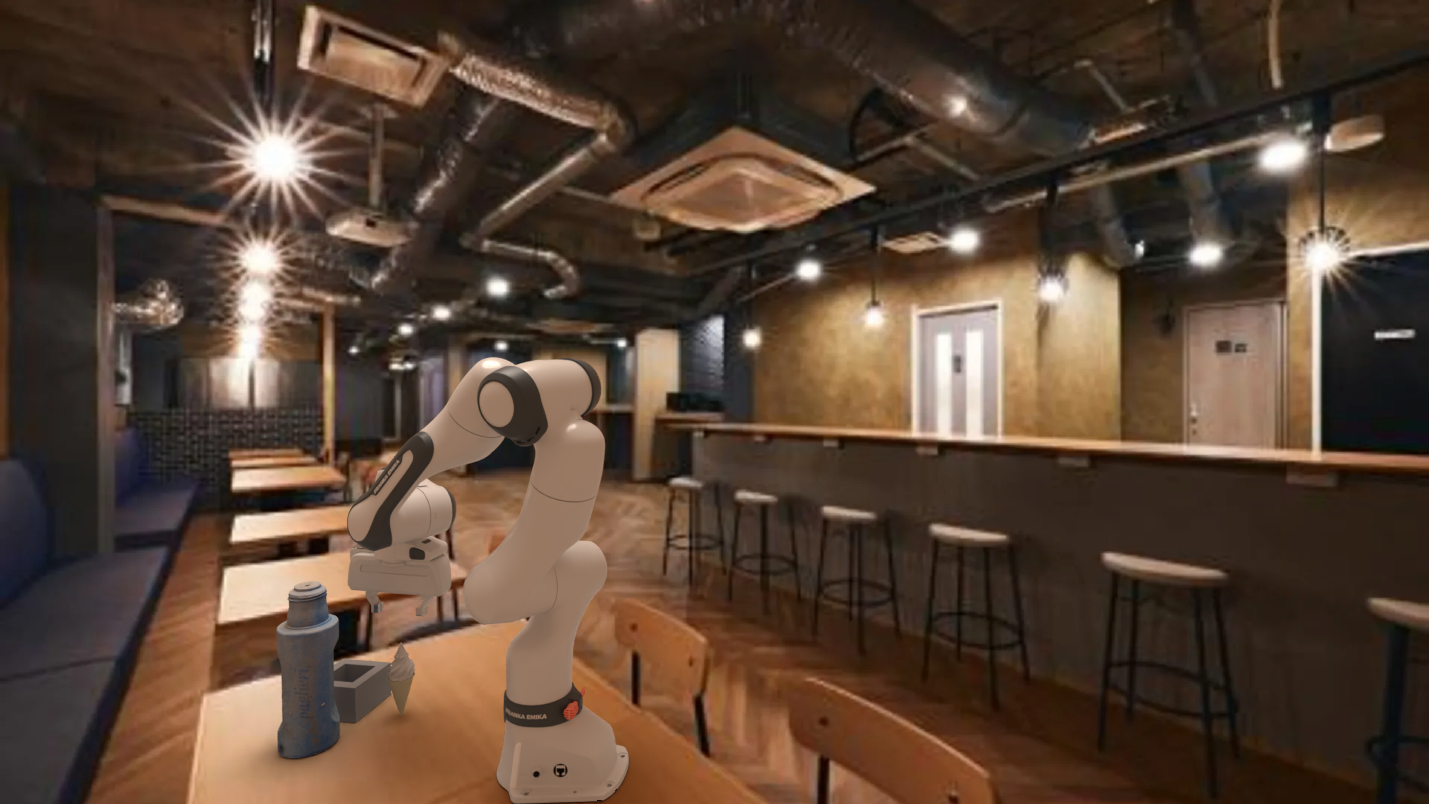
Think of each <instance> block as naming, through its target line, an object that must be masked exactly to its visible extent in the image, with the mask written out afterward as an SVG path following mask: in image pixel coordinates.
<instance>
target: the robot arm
mask: <svg viewBox="0 0 1429 804" xmlns="http://www.w3.org/2000/svg"><path fill="white" fill-rule="evenodd" d="M601 383H602V382H601V379H600V377H599V374H598V372H597V371H596V370H595V368H594V367H593V366H592V365H591V364H590V363H588V362H586V361H585V360H582V359H579V358H574V357H573V358H572V357H561V358H559V359H536V360H535V359H534V360H529V361H525V362H521V363H519V364H514V363H513V362H512V361H509V360H507V359H505V358H501V357H494V356H493V357H487V358H486V357H485V358H483V359H481V360H479V361H478V362H476V363H475V364H474V365H473V366H472V368H470V370H468V371H467V373H466V374H465V376H463V378H462V379H461V381H460V382H459V383H458V385H457V386H456V388H455V389H454V391H453V392H452V394H451V395H450V397H449V399H448V400H447V403H446V405H444V407H443V408H442V410H441V411H440V412H439V413H438V414H437V415H436V416H435V417H434V418H433V419H432V420H431V421H430V422H429V423H428V424H427V425H425V427H423V428H422V429H421V430H419V432H416V433H415V434H414V435H412V436H411V437H410V438H409V439H408V440H406V441H405V442H404V444H403V445H402V446H401V447H400V449H398V451H397V453H396V454H395V455H394V456H393V458H392V459H391V460H390V461H389V463H388V464H387V465H386V466H384V467H381V468H380V469H378V470H377V473H376V475H375V480H374V483H373V484H372V486H371V487H370V488H369V489H368V490H367V491H366V492H364V493H362V494H361V495H360V496H359V497H358V498H357V499H356V500H355V501H354V503H353V504H352V506H350V509H349V512H348V514H347V517H346V526H347V527H346V528H347V533H348V536H349V537H350V539H351V540H352V541H353V542H355V543H356V544H354V545H353V546H352V547H351V549H350V550H349V559H350V562H349V565H348V573H347V586H348V588H349V589H350V590H351V591H360V592H365V597H366V599H367V601H368V602H369V605H371V613H374V614H380V613H382V612H384V608H385V606H384V605H385V604H384V603H385V602H384V601H381V599H380V598H379V596H378V594H379V593H386V594H397V595H415V596H420V601H422V602H421V604H420V605H419V606H417V607H415V616H416V617H426V615H428V613H429V612H428V608H429V607H428V606H429V604H430V603H431V601H432V600H433V598H434V597H440V596H442V595H444V594H446V593H447V592H448V591H449V590H450V589H451V587H452V570H451V563H450V559H449V557H448V556H447V555H446V554H445V553H446V552H447V551H448V549H449V548H448V546H449V545H448V543H447V542H446V541H444V540H442V539H440V538H437V537H435V536H437V535H440V534H443V533H444V532H447V531H448V530H450V528H451V527H452V526H453V524H454V522H455V518H456V516H457V501H456V499H455V496H454V494H452V492H451V491H450V490H449V489H448V488H447V487H445V486H443V485H438V484H437V483H434V482H433V481H431V480H430V479H429V478H430V477H433V476H434V475H437V474H440V473H443V472H445V471H448V470H451V469H455V468H457V467H461V466H465V465H468V464H472V463H475V462H479V461H481V460H483V459H485V458H486V457H488V456H490V455H491V454H492V452H494V451H495V450H496V449H497V448H498V447H499V446H500V445H501V444H502V442H503V441H504V439H505V438H507V439H510V440H511V441H512V442H513V443H514V445H516V446H518V447H530V446H532V445H533V447H534V450H535V457H534V462H533V466H532V470H531V473H530V475H529V476H530V477H529V482H528V484H527V488H526V492H525V495H524V496H525V497H524V498H523V499H524V500H523V503H522V507H521V509H520V513H519V514H518V517H517V519H516V521H515V522H514V525H513V526H512V527H511V529H510V531H509V532H508V533H507V534H506V536H505V537H504V538H503V540H502V541H501V542H500V543H499V545H497V547H496V548H495V549H494V550H493V551H492V552H491V553H490V554H488V555H487V556H486V557H485V558H484V559H482V560H481V561H480V562H478V563H477V564H476V565H474V566H472V568H471V569H469V571H468V572H467V575H466V577H465V579H464V583H463V587H462V588H463V589H462V599H463V604H464V607H465V609H466V611H467V612H468V614H469V615H470V616H471V618H472V619H474V620H475V621H476V622H478V623H479V624H481V625H498V624H507V623H509V624H510V623H513V622H517V621H520V620H524V619H527V618H529V619H528V620H527V623H526V624H525V625H524V626H523V628H522V629H520V631H518V633H517V634H516V635H514V637H513V638H512V640H510V642H509V644H508V646H507V649H506V655H505V660H506V661H505V665H506V666H505V673H506V674H505V675H506V676H505V677H506V681H505V682H506V683H505V684H506V685H505V690H504V693H503V704H502V705H503V707H502V709H503V710H502V711H503V722H504V724H505V725H504V736H503V744H502V748H501V749H502V750H501V755H500V759H499V763H498V766H497V770H496V779H497V781H498V783H499V784H500V786H502V788H504V789H505V790H506V791H507V792H508V795H509V799H510V801H511V803H513V804H542V803H543V804H544V803H546V804H549V803H576V802H577V803H578V802H582V803H583V802H598V801H597V800H602V801H605V800H606V799H608V798H609V797H611V796H612V795H613V794H614V793H615V792H616V791H617V790H618V789H619V788H620V786H621V785H622V783H623V781H624V780H625V777H626V775H627V772H628V771H629V770H628V769H629V763H630V760H629V752H628V750H627V748H626V747H625V746H623V745H619V744H617V743H616V737H615V733H614V730H613V727H612V725H611V724H610V723H608V722H607V721H606V720H604V719H603V718H601V717H600V716H599V715H597V714H596V713H594V712H593V711H592V710H590V708H588V707H587V706H586V705H584V704H583V703H584V702H583V699H584V697H585V695H586V687H585V686H583V687H582V689H581V690H579V689H577V687H576V686H575V684H574V682H573V658H574V657H573V656H574V646H575V639H576V635H577V632H578V629H579V627H580V624H581V621H582V618H583V617H584V614H585V612H586V611H587V608H588V607H589V605H590V604H591V601H592V600H593V598H594V597H595V596H596V595H597V594H598V593H599V591H601V589H603V587H604V585H605V584H606V583H605V582H606V580H607V575H608V563H607V559H606V556H605V554H604V552H603V551H602V549H601V548H600V547H599V546H598V545H597V544H596V542H593V541H591V540H581V539H582V538H583V536H584V535H585V534H586V531H587V530H588V528H589V525H590V522H591V517H592V514H593V510H594V506H595V503H596V499H597V497H598V493H599V489H600V485H601V481H602V477H603V476H602V475H603V470H604V462H605V451H606V442H605V440H606V439H605V437H604V435H603V433H602V431H601V430H600V429H599V428H598V426H597V425H595V424H593V423H592V422H590V421H588V420H585V419H584V418H583V417H585V416H587V415H588V414H589V413H591V412H592V411H593V410H594V409H596V407H597V405H598V404H599V402H600V400H601V395H602V384H601ZM616 789H617V790H616ZM615 790H616V791H615Z"/></svg>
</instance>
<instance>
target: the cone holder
mask: <svg viewBox="0 0 1429 804" xmlns="http://www.w3.org/2000/svg"><path fill="white" fill-rule="evenodd" d="M390 663H392V662H389V661H377V660H364V659H350V658H348V659H347V658H342V659H341V660H339V661H338V662H336V663H334V700H335V704H336V707H337V710H338V713H339V717H340V723H350V724H351V723H352V724H357V723H358V722H359V721H360V720H362V719H363V718H364V717H366V715H368V714H369V713H370V712H371V711H373V710H374V709H375V708H377V707H378V706H379V705H380V704H381V703H383V702H384V701H385V700H386V699H388V698H389V697H390V696H391V695H392V691H391V688H390V685H389V682H388V680H387V677H388V674H389V673H390V672H391V671H389V670H388V668H389V667H391V666H392V665H390Z"/></svg>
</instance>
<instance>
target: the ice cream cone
mask: <svg viewBox="0 0 1429 804" xmlns="http://www.w3.org/2000/svg"><path fill="white" fill-rule="evenodd" d="M393 658H394V659H393V661H392V662H391V663H390V665H391V667H389V668H388V670H389V671H391V672H390V673H389V674H388V677H387V680H388V682H389V685H390V688H391V695H392V696H393V699H394V701H395V705H396V707H397V711H398V713H399V716H401V717H402V716H403V715H404V712H405V708H406V705H407V701H408V698H409V694H410V690H411V687H412V684H413V680H414V676H415V675H416V673H415V671H416V669H415V667H416V664H415V662H414V661H413V659H411V658H410V657H409V652H407V650H406V649H405V647H404V644H403V643H402V641H400V643H399V646H398V648H397V650H396V652H395V654H394V655H393Z"/></svg>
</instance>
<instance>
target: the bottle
mask: <svg viewBox="0 0 1429 804" xmlns="http://www.w3.org/2000/svg"><path fill="white" fill-rule="evenodd" d="M327 592H328V591H327V587H326V586H325V585H322V583H321V582H320V581H313V580H312V581H305V582H300V583H297V584H295V585H294V586H293V588H292V589H291V590H289V591H288V596H287V600H288V610H287V616H286V620H285V621H283V622H282V623H280V624H278V626H277V627H276V631H275V632H276V652H277V656H278V659H279V660H278V661H279V665H280V670H281V671H280V673H281V674H280V675H281V678H280V679H281V719H282V720H281V723H280V725H279V727H278V729H277V740H276V741H277V752H278V753H279V754H280V756H282V757H284V758H287V759H300V758H307V757H312V756H314V755H318V754H320V753H322V752H325V751H326V750H328V749H329V748H331V747H332V746H333V745H335V744H336V742H337V741H338V740H339V738H340V731H341V730H340V728H341V727H340V725H341V722H340V717H339V713H338V710H337V707H336V704H335V700H334V664H335V663H334V660H335V659H334V657H335V656H334V655H335V654H334V652H335V651H334V649H335V647H336V646H337V642H338V641H339V638H340V636H339V635H340V628H339V626H340V624H339V623H340V620H339V618H338V617H337V616H336V615H334V614H331V613H329V608H328V607H329V606H328V602H327V596H328V593H327Z"/></svg>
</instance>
